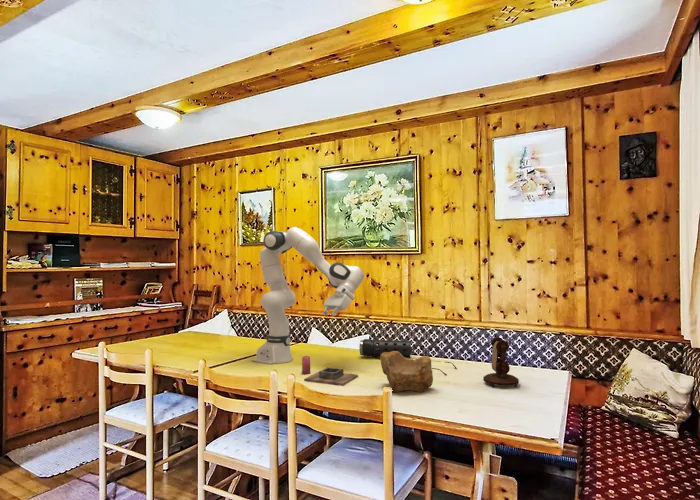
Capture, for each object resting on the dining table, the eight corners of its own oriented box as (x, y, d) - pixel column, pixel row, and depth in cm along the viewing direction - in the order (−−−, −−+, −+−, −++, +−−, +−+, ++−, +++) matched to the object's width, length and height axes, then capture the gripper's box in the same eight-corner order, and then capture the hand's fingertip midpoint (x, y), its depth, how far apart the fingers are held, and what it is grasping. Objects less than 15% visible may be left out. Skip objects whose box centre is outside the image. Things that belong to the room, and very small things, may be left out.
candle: (300, 374, 215) (300, 355, 215) (304, 372, 219) (304, 354, 219) (307, 374, 213) (307, 356, 213) (311, 372, 217) (311, 354, 217)
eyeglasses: (424, 364, 232) (424, 355, 232) (458, 369, 221) (458, 359, 221) (410, 371, 219) (410, 361, 219) (446, 376, 208) (445, 366, 208)
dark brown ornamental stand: (479, 379, 201) (478, 335, 201) (512, 379, 201) (511, 335, 201) (488, 389, 186) (487, 341, 187) (524, 389, 186) (523, 341, 186)
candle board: (304, 380, 203) (304, 372, 203) (321, 372, 217) (320, 364, 217) (343, 385, 194) (343, 376, 194) (358, 376, 208) (357, 368, 209)
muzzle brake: (409, 361, 240) (409, 341, 240) (359, 359, 245) (359, 340, 246) (410, 357, 249) (410, 338, 249) (362, 355, 255) (362, 337, 255)
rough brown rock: (370, 393, 185) (370, 358, 184) (383, 380, 200) (383, 347, 199) (425, 402, 176) (424, 365, 175) (434, 387, 191) (434, 353, 190)
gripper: (330, 289, 236) (315, 310, 231) (348, 289, 218) (332, 311, 213) (338, 297, 238) (324, 317, 233) (356, 297, 220) (341, 319, 215)
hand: (328, 314), depth 223 cm, fingers open, 8 cm apart
